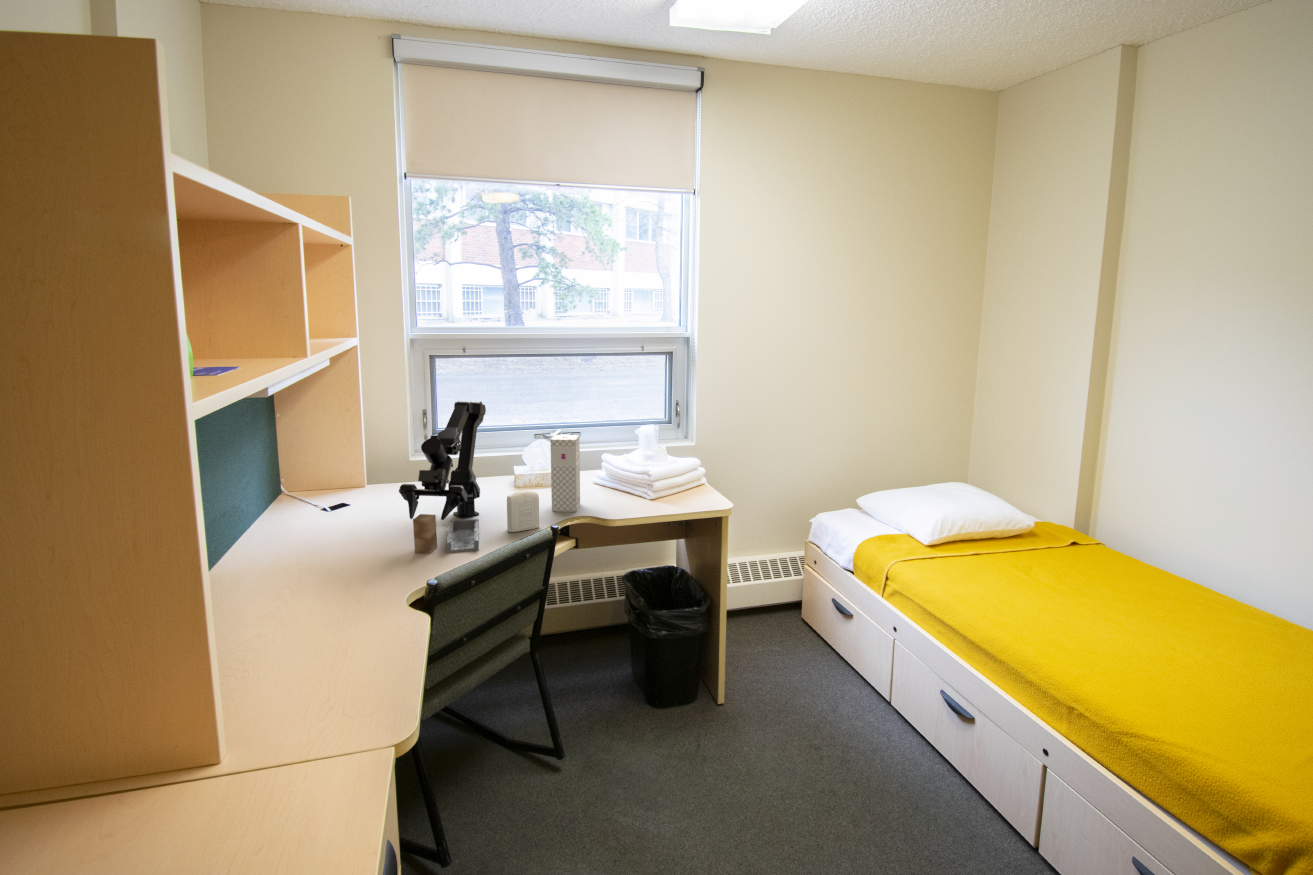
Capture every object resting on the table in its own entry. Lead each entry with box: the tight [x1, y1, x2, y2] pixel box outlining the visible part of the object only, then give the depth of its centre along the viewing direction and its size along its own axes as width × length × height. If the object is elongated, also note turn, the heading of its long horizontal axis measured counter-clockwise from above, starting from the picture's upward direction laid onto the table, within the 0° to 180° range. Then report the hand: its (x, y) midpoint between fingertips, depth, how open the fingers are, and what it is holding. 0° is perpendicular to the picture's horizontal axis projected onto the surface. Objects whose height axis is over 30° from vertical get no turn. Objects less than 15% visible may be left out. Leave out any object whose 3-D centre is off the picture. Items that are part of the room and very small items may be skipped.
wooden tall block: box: [412, 513, 438, 555], centre depth 195 cm, size 4×5×10 cm
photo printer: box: [506, 490, 540, 533], centre depth 214 cm, size 10×4×12 cm, turn 123°
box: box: [550, 434, 581, 513], centre depth 235 cm, size 8×8×25 cm
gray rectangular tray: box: [446, 518, 480, 554], centre depth 204 cm, size 20×9×3 cm, turn 14°
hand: (426, 519), depth 195 cm, fingers open, 9 cm apart
